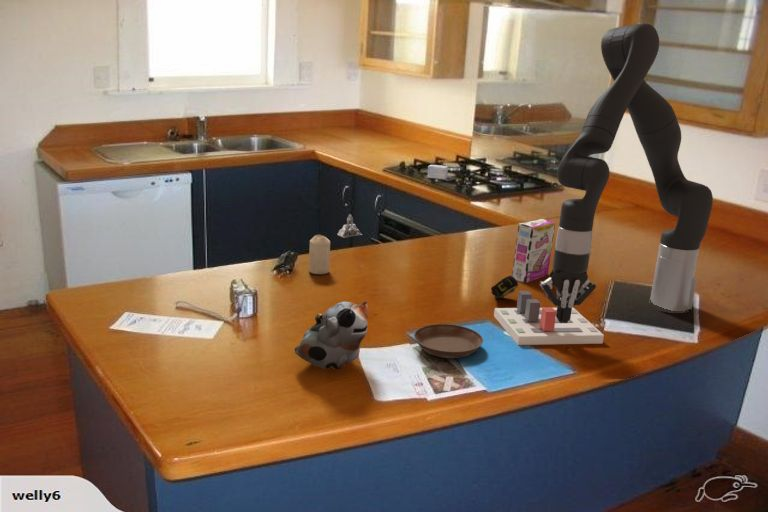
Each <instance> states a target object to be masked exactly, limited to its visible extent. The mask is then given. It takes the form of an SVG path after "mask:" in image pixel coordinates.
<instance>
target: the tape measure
mask: <svg viewBox="0 0 768 512" xmlns="http://www.w3.org/2000/svg"><path fill="white" fill-rule="evenodd" d="M518 282H519V281H517V280H516V279H515V278H514V277H513V276H512V275H508V276H506V277H504V278H502V279H501V280H500V281H498V282H497V283H495V284H494V285H493V286H492V287H491V292H490V293H491V294H492V295H493V296H494V297H495V298H496V299H498V300H500V299H502V298H503V299H504V298H505V297H507V296H508V295H510V294H512V293H515V290H516V289H517V288H518V287H519V283H518Z"/></svg>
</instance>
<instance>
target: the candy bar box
mask: <svg viewBox="0 0 768 512" xmlns="http://www.w3.org/2000/svg"><path fill="white" fill-rule="evenodd" d="M555 228H556V221H555V222H554V221H552V220H548V219H543V218H540V219H535V220H531V221H530V220H529V221H525V222H520V223H518V227H517V235H516V243H515V252H514V255H513V256H514V257H513V258H514V259H513V266H512V272H511V273H512V274H511V276H513V277H514V278H515V279H516V281H517V282H520V283H523V284H527V283H529V282H533V281H535V280H538V279H541V278H544V277H546V276H548V275H549V269H550V264H551V263H550V262H551V256H552V255H551V254H552V250H553V249H552V247H553V242H554V234H555Z"/></svg>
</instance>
